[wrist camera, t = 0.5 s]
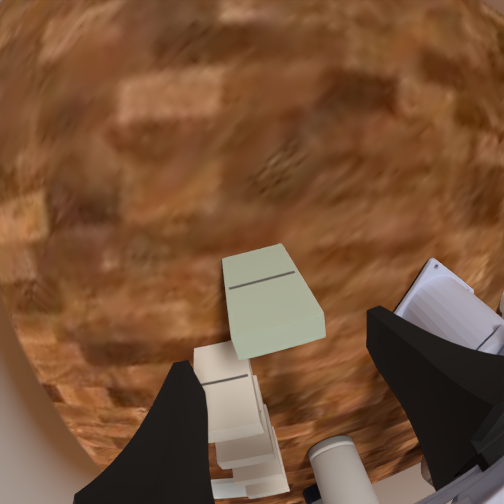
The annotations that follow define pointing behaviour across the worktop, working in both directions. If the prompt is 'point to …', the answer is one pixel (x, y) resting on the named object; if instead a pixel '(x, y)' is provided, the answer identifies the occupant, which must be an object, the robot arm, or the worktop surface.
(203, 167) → the worktop surface
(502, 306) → the white round-cup tray
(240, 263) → the domino
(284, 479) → the domino
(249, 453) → the domino
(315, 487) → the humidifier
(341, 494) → the travel mug
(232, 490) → the hard drive
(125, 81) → the worktop surface
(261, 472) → the domino
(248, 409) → the domino
